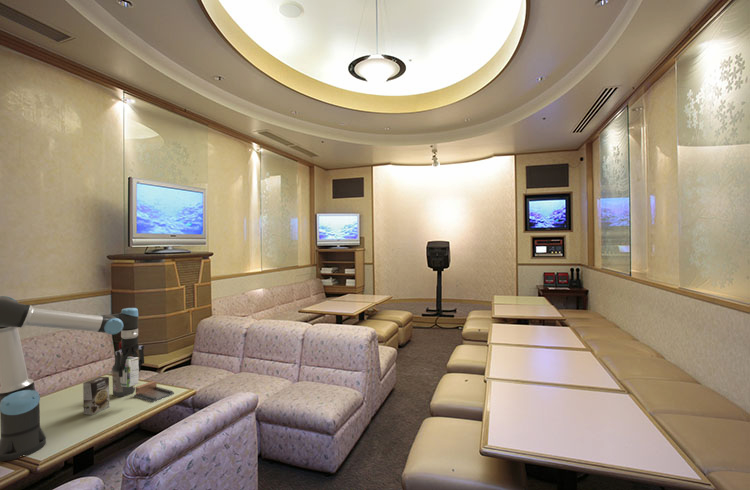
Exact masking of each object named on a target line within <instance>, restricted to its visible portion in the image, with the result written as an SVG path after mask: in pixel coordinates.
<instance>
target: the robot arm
mask: <svg viewBox="0 0 750 490" xmlns="http://www.w3.org/2000/svg"><path fill="white" fill-rule="evenodd" d="M138 309H139V308H137V307H126V308H122V309H121V311H120V312H118V313H114V314H113V313H112V314H100V315H94V314H87V313H86V314H85V313H80V312H79V313H78V312H69V311H63V310H61V311H60V310H55V309H46V308H37V307H36V308H35V307H33V305H32V304H26V303H20V302H18V301H17V300H16V299H15V298H13V297H11V296H5V295H4V296H3V295H1V296H0V462H6V461H7V462H8V461H13V460H17V459H19V458H18V457H20V456H23V455H27V456H29V455H31V454H34V453H36V452H37V451H39V450H41V449H42V448H44V447H45V446H46V445H47V438H46V435H45V433H44V431H43V429H42V428H41V416H40V415H41V413H40V412H41V411H40V407H41V406H40V402H41V397H40V394H39V392H38V391H37V390H36V386H35V382H34V379H31V378H29V376H28V375H29V374H28V371H27V370H28V369H27V365H26V361H25V360H26V359H25V355H24V351H23V345H22V341H21V336H20V332H19V328H24V327H26V326H29V327H37V328H38V327H39V328H51V329H60V330H61V329H62V330H73V331H74V330H75V331H82V332H94V333H104V334H108V335H117V334H119V333H120V337H121V340H120V342H121V346H122V347H121V349H120V350H116V351H114V355H115V358H114V359H115V360H114V364H115V367H114V370H116V371H119V377H120V382H121V383H125V370H123V369H124V366H125V363H126V360H127V357H129V356H130V355H132V357H138V380H139V379H140V372H141V367H142V365H143V364H145V356H144V353H145V352H144V349H145V346H144V345H139V310H138ZM121 352H122V353H123V355H122V359H121V362H120V357H121V355H120V354H121ZM28 454H29V455H28Z"/></svg>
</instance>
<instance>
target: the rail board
mask: <svg viewBox="0 0 750 490" xmlns="http://www.w3.org/2000/svg"><path fill="white" fill-rule="evenodd" d="M157 383H158V382H157V381H156V380H152V381H150V382H147V383H144V384H141V385H139V386H135V394H133V398H134V397H135V398H137V399H141V400H144V401H146V400H147V401H146V402H149V401H151V402H150V403H155V402H158V401H159V400H160V401H161V400H162V398H163V399H165V398H167V397H170V396H173V395H174V394H175V392H174V391H173V390H170V389H167V388H162V387H159V386H157ZM157 400H158V401H157ZM154 401H155V402H154Z"/></svg>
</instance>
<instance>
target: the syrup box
mask: <svg viewBox="0 0 750 490" xmlns="http://www.w3.org/2000/svg"><path fill="white" fill-rule="evenodd" d="M138 358H139V356H138V357H133V356H128V357H127V360H126V363H125V366H124V369H123V370H125V383H121V386H123V387H131V386H133V385H135V386H137V385H138V384H139V379H138Z"/></svg>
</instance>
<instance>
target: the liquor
mask: <svg viewBox="0 0 750 490" xmlns="http://www.w3.org/2000/svg"><path fill="white" fill-rule="evenodd" d="M121 347H122V346H121V341H120V342H118V348H119V350H120V349H121ZM119 350H118V351H119ZM120 355H121V357H120V362H121V359H122V355H123V353H122V352H121V354H120ZM114 367H115V363H114V364H113V365H112V368H111V372H112V376H111V377H112V395H113V396H114V397H117V398H121V397H126V396H130V395H132V394H133V393H135V392H136V385H133V386H131V387H123V386H121V382H120V377H119V371H116V370H114Z"/></svg>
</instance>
